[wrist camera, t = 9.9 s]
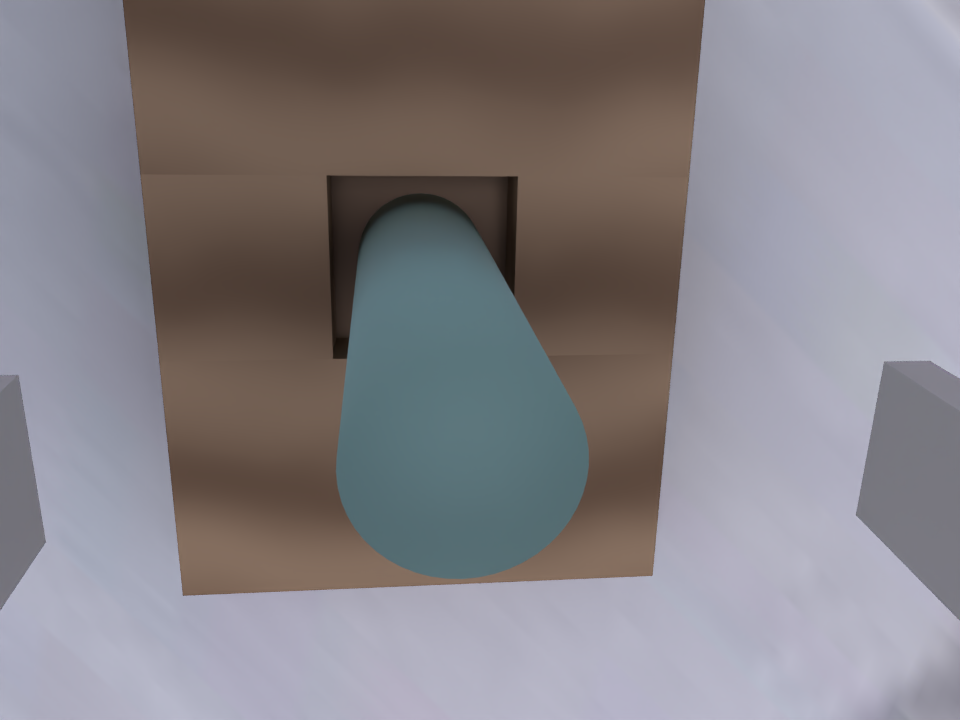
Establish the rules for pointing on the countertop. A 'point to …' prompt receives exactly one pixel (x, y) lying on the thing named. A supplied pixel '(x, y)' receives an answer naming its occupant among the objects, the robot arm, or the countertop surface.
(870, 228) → the countertop surface
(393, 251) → the pin
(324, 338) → the bore block
